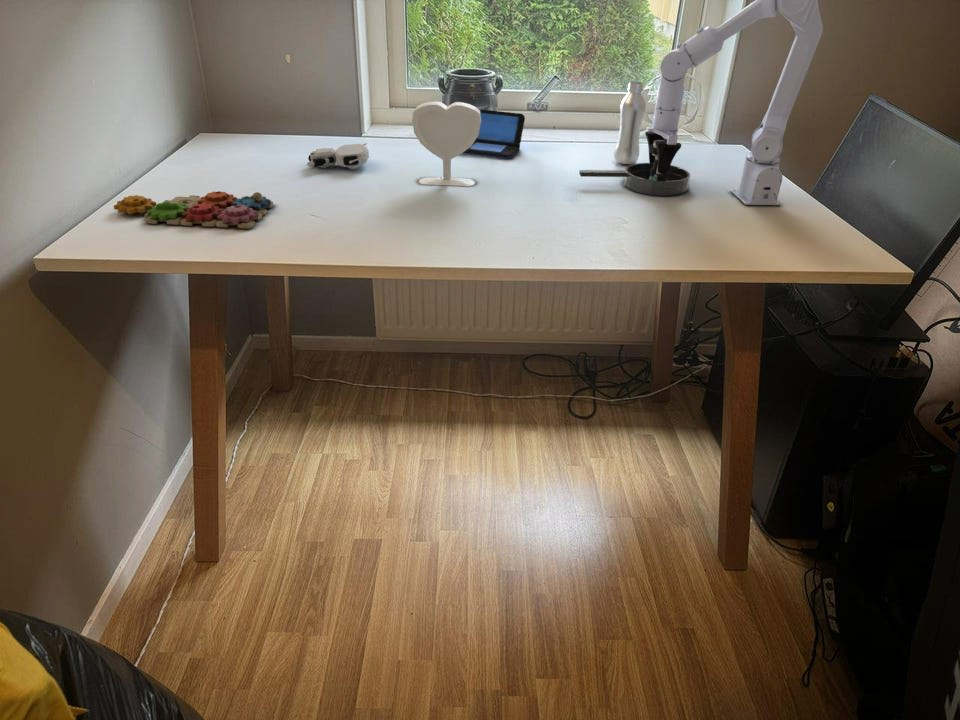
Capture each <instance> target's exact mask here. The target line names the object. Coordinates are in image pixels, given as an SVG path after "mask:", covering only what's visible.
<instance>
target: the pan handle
mask: <svg viewBox="0 0 960 720" xmlns="http://www.w3.org/2000/svg"><path fill="white" fill-rule="evenodd" d="M579 176H580V177H582V178H583V177H585V178H588V177H589V178H590V177H591V178H596V177H597V178H625V177H627V172H626V169H625V170H624V169H623V170H619V169H618V170H617V169H602V170H601V169H579Z"/></svg>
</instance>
